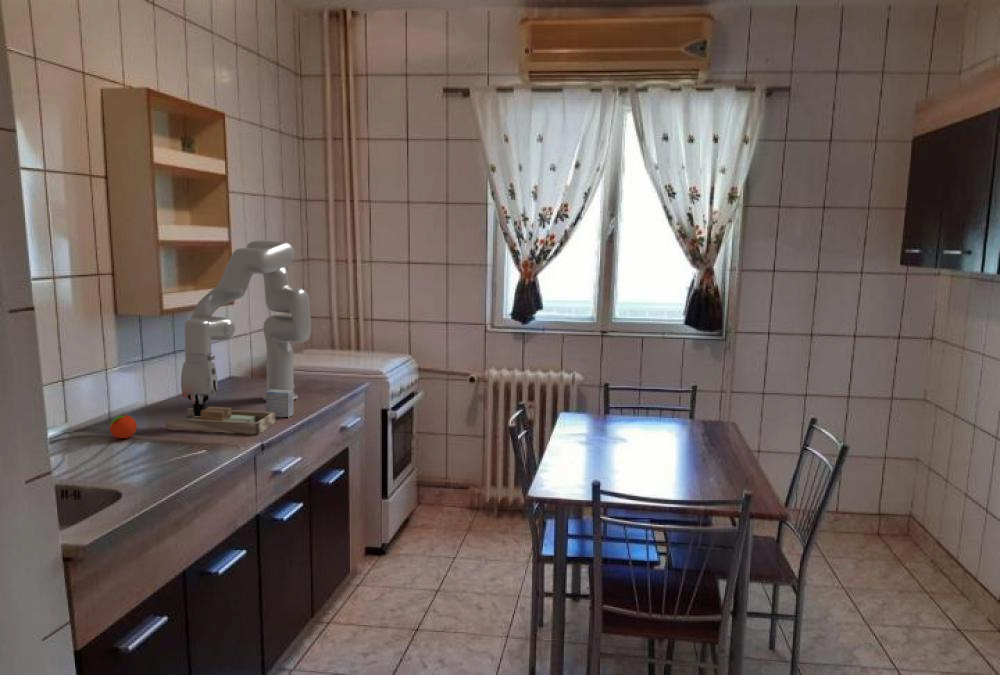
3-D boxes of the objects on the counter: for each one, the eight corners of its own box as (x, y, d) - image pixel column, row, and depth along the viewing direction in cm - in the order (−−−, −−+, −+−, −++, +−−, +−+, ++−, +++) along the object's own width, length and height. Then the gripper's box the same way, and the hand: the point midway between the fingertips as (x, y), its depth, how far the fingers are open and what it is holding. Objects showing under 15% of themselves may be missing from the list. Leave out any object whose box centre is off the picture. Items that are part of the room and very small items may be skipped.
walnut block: (210, 415, 216) (209, 406, 216) (231, 416, 216) (231, 407, 215) (200, 420, 210) (200, 411, 210) (222, 421, 210) (222, 412, 209)
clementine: (120, 444, 192) (119, 419, 191) (101, 441, 194) (100, 417, 193) (142, 436, 199) (141, 413, 198) (124, 434, 201) (123, 410, 200)
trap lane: (189, 418, 221) (188, 408, 220) (275, 422, 220) (275, 412, 219) (166, 429, 207) (165, 418, 207) (258, 434, 206) (258, 423, 205)
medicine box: (293, 415, 231) (293, 390, 229) (288, 418, 226) (288, 393, 225) (271, 413, 231) (271, 389, 230) (265, 416, 227) (265, 391, 226)
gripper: (227, 357, 214) (227, 413, 216) (181, 355, 215) (182, 411, 217) (215, 361, 207) (216, 419, 209) (168, 359, 207) (170, 417, 210)
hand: (199, 415), depth 213 cm, fingers closed
